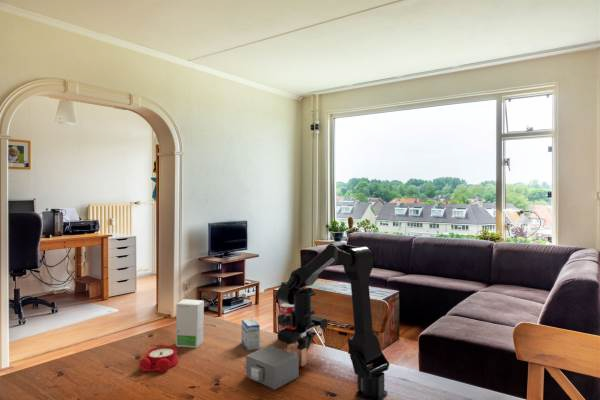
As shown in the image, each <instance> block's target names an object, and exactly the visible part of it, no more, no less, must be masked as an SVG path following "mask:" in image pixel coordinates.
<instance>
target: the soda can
mask: <svg viewBox="0 0 600 400" xmlns="http://www.w3.org/2000/svg"><path fill="white" fill-rule="evenodd" d="M293 310H294V305H290V304H287V303H284V302H281V304H280V307H279V313H278V314H279V315H282V314H285V315H288V314H291V311H293ZM279 315H278V316H279ZM286 328H289V329H292V330H294V329H295V327H290V325H287V326H285V327H283V326H282V325H279V331H281V330H283V329H286Z"/></svg>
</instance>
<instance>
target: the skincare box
mask: <svg viewBox="0 0 600 400" xmlns="http://www.w3.org/2000/svg"><path fill="white" fill-rule="evenodd" d="M204 304H205V301H204V300H201V299H186V298H183V299H181V300H180V301H179V302H177V303H176V313H175V314H176V319H175V320H176V321H175V347H178V348H181V347H182V348H195V349H197V348H199V346H201V345H202V343H203V342H204V319H205V318H204V317H205V316H204V315H205V314H204V313H205V311H204V308H205V305H204Z"/></svg>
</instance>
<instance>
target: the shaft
mask: <svg viewBox="0 0 600 400" xmlns="http://www.w3.org/2000/svg"><path fill="white" fill-rule="evenodd" d="M286 348H287V350H286V351H287V352H289V353H292V354H295V355H298V362H299V367H304V366H306V365H307V363H308V362H307V359H308V357H307V356H308V355H307V354H308V351H307V348H306V347H303V346H300V345H298V344H296V343H293V344H287V347H286ZM251 378H252V379H251V380H253V379H254V380H253V381H255V380H256V381H255V382H257V381H260V380H262V379H264V378H265V370H264V367H262V366H259V365H256V366H254V367H252V368H251Z"/></svg>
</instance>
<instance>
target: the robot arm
mask: <svg viewBox="0 0 600 400" xmlns="http://www.w3.org/2000/svg"><path fill="white" fill-rule="evenodd" d="M334 262H337V263H339V264H342V265H343V269H344V273H345V274H346V276H347V278H348V279H349V280H350V290H351V291H350V293H351V301H352V314H353V325H354V333H353V335H352V336H351V337H350V338H348V339H347V345H348V355H349V357H350V362H351V363H352V367H353V372H354V374H355V375H357V378H356V380H357V384H356V385H357V388H356V389H357V391H355V396H357V397H359V398H362V399H365V400H381V399H383V398H384V397H385V396H386V395H388V391H387V390H385V373H384V372H386V371H388V370H389V367H390V362H389V361H388V359H387V358H386V357H385V355H384V353H383V351H382V349H381V345H380V340H379V338H378V337H377V335H376V334H375V332H374V329H373V320H372V318H373V317H372V306H371V296H370V295H371V294H370V293H371V292H370V284H369V279H370V276H371V274H372V271H373V265H374V264H373V263H374V254H373V252H372V250H370V249H369V247H367V246H354V245H350V244H345V243H342V242H333V243H329V244H327V245H326V247H325V248H324V249H322V251H321V252H320V253H318V255H316V256H315V257H314V258H313V259H312V260H310V261H309V262H308V263H307V264H306V265H303V266H300V267H298V268H296V269H294V270H293V271H291V273H290V276H289V279H288V280H287V281H282V282H281V283H280V286H279V287H278V289H277V292H276V298H277V300H278V301H279V302H281V303H287V304H290V305H294V310H293V311H291V314H288V315H285V314H282V315H278V316H277V323H278V325H279V326H280V325H282V326H283V327H285V326H287V325H290V327H295V329H294V330H292V329H289V328H286V329H283V330H281V331H280V330H278V332H277V341H280V342H283V343H286V344H287V345H289V344H296V343H297V345H300V346H303V347H306V348H307V352H308V350H309V349H310V347H311V344H312V343H313V340H314V339H315V336H317V332H315V331H314V328H317V327H319V328H320V329H321V330H325V329H326V328H328V321H327V320H326V318H324V317H321V316H320V317H319V316H316V315H315V310H313V309H312V308H313V307H312V297H314V296H317V293H316V292H315V291H314V290H313V289H312V286H313V285H314V284H315V283H316V281H318V277H319V275H320V273H322V272H323V271H324V270H325V269H327V268H328V267H329V266H330V265H331V264H333V263H334ZM310 286H311V287H310ZM306 287H308V288H306ZM309 287H310V288H309ZM313 315H315V316H313Z"/></svg>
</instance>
